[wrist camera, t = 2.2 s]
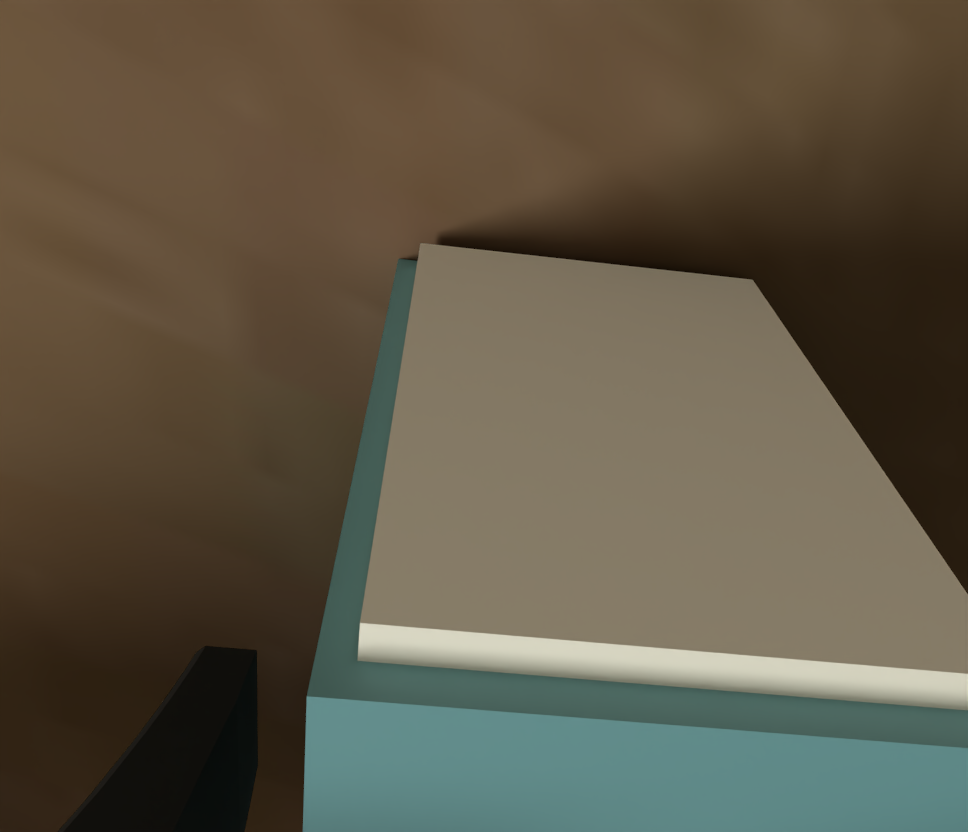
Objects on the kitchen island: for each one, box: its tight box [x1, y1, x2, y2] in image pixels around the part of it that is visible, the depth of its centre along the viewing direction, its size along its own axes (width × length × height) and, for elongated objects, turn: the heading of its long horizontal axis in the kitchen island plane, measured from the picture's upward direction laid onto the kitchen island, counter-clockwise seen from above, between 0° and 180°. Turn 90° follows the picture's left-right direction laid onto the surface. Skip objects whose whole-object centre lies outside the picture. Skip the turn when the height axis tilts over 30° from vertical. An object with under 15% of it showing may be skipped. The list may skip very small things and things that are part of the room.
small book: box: [303, 243, 968, 832], centre depth 11 cm, size 4×10×7 cm, turn 173°
